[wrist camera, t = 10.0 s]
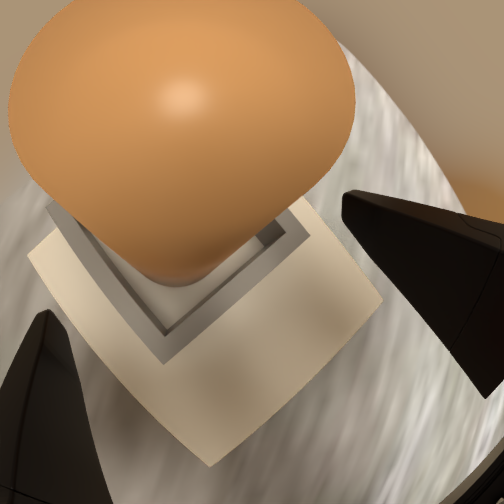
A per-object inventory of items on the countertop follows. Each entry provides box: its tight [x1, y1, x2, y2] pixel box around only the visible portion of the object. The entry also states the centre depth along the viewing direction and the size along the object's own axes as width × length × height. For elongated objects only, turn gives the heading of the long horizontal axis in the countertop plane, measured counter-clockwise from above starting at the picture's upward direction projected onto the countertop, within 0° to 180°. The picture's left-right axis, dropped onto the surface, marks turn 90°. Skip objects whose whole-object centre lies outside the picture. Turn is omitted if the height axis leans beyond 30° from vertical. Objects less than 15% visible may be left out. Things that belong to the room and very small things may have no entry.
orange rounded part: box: [8, 0, 356, 287], centre depth 10 cm, size 5×5×13 cm
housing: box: [27, 196, 384, 467], centre depth 15 cm, size 15×14×5 cm
